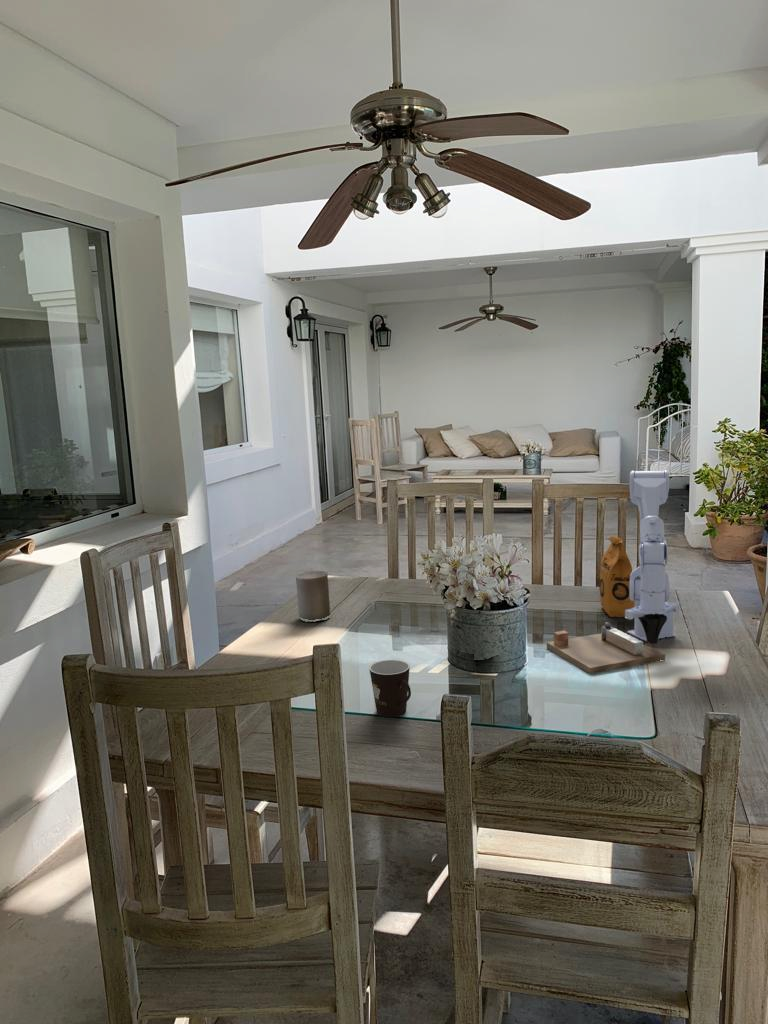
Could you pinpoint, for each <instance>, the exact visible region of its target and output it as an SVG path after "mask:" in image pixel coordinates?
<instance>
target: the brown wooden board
mask: <svg viewBox="0 0 768 1024" xmlns="http://www.w3.org/2000/svg"><path fill="white" fill-rule="evenodd" d="M546 649H548V650H549V651H551V652H553V654H556V655H557V656H560V657H561V658H563V659H565V660H566V661H568V662H570V663H571V664H573V665H574V664H575V665H574V666H577V667H578V668H579V669H582V670H583V671H584V670H585V671H584V672H586V673H588V674H589V675H592V674H597V673H603V672H609V671H613V670H614V671H615V670H620V669H625V668H629V667H630V668H631V667H636V666H641V665H647V664H646V663H648V664H652V663H651V662H653V663H657V662H656V661H659V662H661V661H660V660H664V661H666V654H665V653H663V652H661V651H659V650H658V649H657V650H656V649H655V648H653V647H650V646H648V645H646V644H644V643H643V654H639V655H634V654H632V653H630V652H628V651H626V650H624V649H622V648H620V647H618V646H616V645H614V644H612V643H610V642H608V641H606V640H602V639H601V632H600V633H595V634H589V635H583V636H577V637H570V638H569V632H567V631H566V630H560V631H554V632H553V640H552V641H547V642H546Z"/></svg>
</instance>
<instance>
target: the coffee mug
mask: <svg viewBox="0 0 768 1024" xmlns="http://www.w3.org/2000/svg"><path fill="white" fill-rule="evenodd" d="M410 667H411V666H410V664H409V663H408V662H407V661H403V660H399V659H385V660H380V661H379V660H378V661H375V662H374V663H372V664H371V665H370V666H369V667H368V669H369V674H370V680H371V686H372V692H373V697H374V704H375V711H376V714H377V715H378V716H380V717H383V718H389V719H391V718H398V717H401V716H403V715H405V714H406V712H407V707H408V706H407V705H408V704H407V703H408V701H409V700H410V698H411V695H412V691H411V687H410V684H409V680H410V679H409V678H410V670H411V669H410Z"/></svg>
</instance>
